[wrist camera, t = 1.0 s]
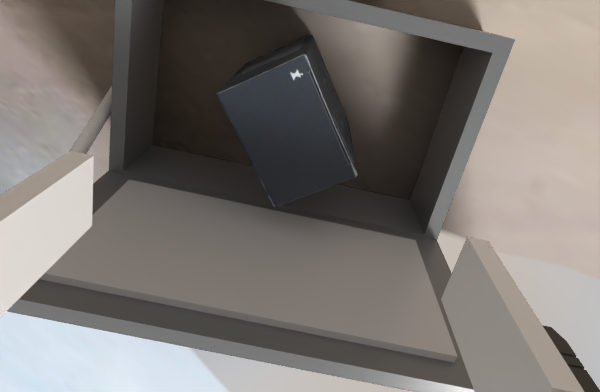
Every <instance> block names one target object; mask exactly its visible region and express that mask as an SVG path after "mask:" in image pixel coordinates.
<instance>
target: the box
mask: <svg viewBox="0 0 600 392" xmlns="http://www.w3.org/2000/svg"><path fill="white" fill-rule="evenodd" d="M217 97H218V99H219V101H220V103H221V105H222V107H223V109H224V110H225V112H226V114H227V116H228V118H229V120H230V122H231V124H232V126H233V128H234V130H235V132H236V134H237V136H238V138H239V140H240V141H241V143H242V145H243V147H244V149H245V151H246V153H247V155H248V157H249V159H250V161H251V163H252V165H253V167H254V169H255V171H256V173H257V175H258V177H259V178H260V180H261V182H262V184H263V186H264V188H265V190H266V192H267V194H268V196H269V198H270V200H271V202H272V204H273V206H274V207H277V206H280V205H283V204H285V203H288V202H291V201H294V200H296V199H299V198H302V197H304V196H307V195H310V194H312V193H315V192H318V191H320V190H323V189H326V188H328V187H331V186H333V185H336V184H339V183H342V182H345V181H348V180H350V179H354V178H356V177H357V175H358V174H357V170H356V165H355V159H354V153H353V147H352V141H351V135H350V128H349V124H348V121H347V119H346V116H345V114H344V111H343V109H342V106H341V103H340V101H339V98H338V96H337V94H336V91H335V89H334V86H333V84H332V81H331V79H330V76H329V74H328V71H327V69H326V66H325V64H324V62H323V59H322V57H321V54H320V52H319V49H318V47H317V44H316V42H315V40H314V37H313V35H309V36H306V37H304V38H302V39H300V40H298V41H295V42H293V43H291V44H289V45H286V46H284V47H282V48H280V49H278V50H276V51H273V52H271V53H269V54H267V55H264V56H262V57H260V58H258V59H255V60H253V61H251V62H248V63H246V64H245V65H244V66H243V67H242V68H241V69H240V70H239V71H238V72H237V73H236V74H235V75H234V76H233V77H232V78H231V79H230V80H229V81H228V82H227V83H226V84H225V85H224V87H222V88H221V89H220V91H219V92H217Z"/></svg>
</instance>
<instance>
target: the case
mask: <svg viewBox="0 0 600 392" xmlns="http://www.w3.org/2000/svg"><path fill="white" fill-rule="evenodd" d="M266 1H270V2H274V3H279V4H283V5H287V6H292V7H296V8H300V9H305V10H309V11H313V12H318V13H322V14H326V15H331V16H335V17H339V18H344V19H348V20H352V21H357V22H361V23H365V24H370V25H374V26H378V27H383V28H387V29H391V30H396V31H400V32H404V33H409V34H413V35H417V36H422V37H426V38H430V39H435V40H439V41H443V42H448V43H452V44H456V45H461V46H464V47H463V50H462V53H461V55H460V58H459V61H458V64H457V67H456V70H455V73H454V76H453V78H452V81H451V84H450V87H449V90H448V93H447V96H446V99H445V102H444V104H443V107H442V110H441V113H440V116H439V119H438V122H437V125H436V127H435V130H434V133H433V136H432V139H431V142H430V145H429V148H428V150H427V153H426V156H425V159H424V162H423V165H422V168H421V171H420V173H419V176H418V179H417V182H416V185H415V188H414V191H413V194H412V197H411V199H410V200H407V199H402V198H398V197H393V196H388V195H384V194H379V193H375V192H370V191H365V190H361V189H356V188H351V187H347V186H342V185H337V184H336V185H333V186H331V187H328V188H326V189H323V190H320V191H318V192H315V193H312V194H310V195H307V196H304V197H302V198H299V199H296V200H294V201H291V202H288V203H285V204H283V205H280V206H277V207H274V206H273V204H272V202H271V200H270V198H269V196H268V194H267V192H266V190H265V188H264V186H263V184H262V182H261V180H260V178H259V177H258V175H257V173H256V171H255V169H254V167H253V166H249V165H244V164H240V163H235V162H231V161H226V160H221V159H217V158H212V157H207V156H203V155H198V154H193V153H189V152H184V151H179V150H175V149H170V148H166V147H161V146H156V145H152V143H153V130H154V118H155V105H156V92H157V79H158V66H159V54H160V41H161V28H162V15H163V3H164V0H115V21H114V48H113V75H112V86H111V87H110V89H109V90H108V92H107V94H106V95H105V97H104V98H103V100H102V101H101V103H100V104H99V106H98V108H97V109H96V111H95V112H94V114H93V115H92V117H91V118H90V120H89V121H88V123H87V125H86V126H85V128H84V129H83V131H82V132H81V134H80V135H79V137H78V139H77V140H76V142H75V143H74V145H73V146H72V148H71V149H70V151H74V152H79V153H83V154H86V153H87V152H88V150H89V148H90V147H91V145H92V143H93V142H94V140H95V138H96V137H97V135H98V134H99V132H100V130H101V129H102V127H103V125H104V124H105V122H106V120H107V119H108V117H109V116H110V114H111V129H110V156H109V171H108V172H107V173H106V174H104V175H103V176H102V177H101V178H100V179H98V180H97V181H96V182H95V183H94V184H93V209H92V226H91V227H90V228H89V229H88V230H87V231H86V232H85V233H84V234H83V235H82V236H81V237H80V238H79V239H78V240H77V241H76V242H75V243H74V244H73V245H72V246H71V247H70V248H69V249H68V250H67V251H66V252H65V253H64V254H63V255H62V256H61V257H60V258H59V259H58V260H57V261H56V262H55V263H54V264H53V265H52V266H51V267H50V268H49V269H48V270H47V271H46V272H45V273H44V274H43V275H42V276H41V277H40V278H39V279H38V280H37V281H36V282H35V283H34V284H33V285H32V286H31V287H30V288H29V289H28V290H27V291H26V292H25V293H24V294H23V295H22V296H21V297H20V298H19V299H18V300H17V301H16V302H15V303H14V304H13V305H12V306H11V307H10V308H9V309H8V310H7V311H8V312H13V313H18V314H23V315H28V316H33V317H38V318H43V319H48V320H53V321H58V322H64V323H69V324H74V325H79V326H84V327H89V328H94V329H99V330H104V331H109V332H114V333H119V334H124V335H129V336H134V337H140V338H145V339H150V340H155V341H160V342H165V343H170V344H175V345H180V346H185V347H190V348H195V349H200V350H205V351H210V352H216V353H221V354H226V355H231V356H236V357H241V358H246V359H252V360H256V361H261V362H266V363H271V364H277V365H281V366H287V367H291V368H297V369H302V370H307V371H312V372H317V373H322V374H327V375H332V376H337V377H342V378H347V379H352V380H357V381H362V382H368V383H372V384H378V385H383V386H388V387H393V388H398V389H403V390H408V391H413V392H474V389H473V386H472V383H471V381H470V378H469V375H468V372H467V370H466V367H465V364H464V361H463V359H462V356H461V353H460V350H459V348H458V345H457V342H456V339H455V337H454V334H453V331H452V328H451V325H450V323H449V320H448V317H447V314H446V312H445V309H444V306H443V303H442V301H441V298H442V296H443V293H444V291H445V289H446V286H447V284H448V281H449V279H450V277H451V271H450V269H449V267H448V265H447V262H446V260H445V258H444V256H443V254H442V251H441V249H440V247H439V244H438V242H437V238H438V235H439V233H440V230H441V228H442V225H443V223H444V220H445V218H446V215H447V212H448V210H449V207H450V205H451V202H452V200H453V197H454V194H455V192H456V189H457V187H458V184H459V182H460V179H461V177H462V174H463V171H464V169H465V166H466V164H467V161H468V159H469V156H470V154H471V151H472V148H473V146H474V143H475V141H476V138H477V136H478V133H479V130H480V128H481V125H482V123H483V120H484V118H485V115H486V113H487V110H488V107H489V105H490V102H491V100H492V97H493V95H494V92H495V89H496V87H497V84H498V82H499V79H500V77H501V74H502V72H503V69H504V66H505V64H506V61H507V59H508V56H509V54H510V51H511V49H512V46H513V43H514V41H515V40H514V39H511V38H507V37H503V36H499V35H496V34H492V33H488V32H484V31H480V30H476V29H472V28H467V27H463V26H459V25H455V24H450V23H446V22H442V21H437V20H433V19H429V18H424V17H420V16H416V15H412V14H407V13H403V12H399V11H394V10H390V9H386V8H381V7H377V6H373V5H369V4H364V3H360V2H356V1H351V0H266ZM70 151H69V152H70Z"/></svg>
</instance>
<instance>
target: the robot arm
mask: <svg viewBox="0 0 600 392" xmlns="http://www.w3.org/2000/svg"><path fill="white" fill-rule="evenodd" d="M93 162H94V156H93V155H88V154H83V153H79V152H74V151H70V152H68V153H67V154H65V155H64V156H62V157H61V158H59V159H57V160H56V161H54V162H53V163H51V164H49V165H48V166H46V167H45V168H43V169H41V170H40V171H38V172H37V173H35V174H33V175H32V176H30V177H29V178H27V179H25V180H24V181H22V182H21V183H19V184H17V185H16V186H14V187H13V188H11V189H9V190H8V191H6V192H5V193H3V194H1V195H0V317H1V316H2V315H3V314H4V313H5V312H6V311H7V310H8V309H9V308H10V307H11V306H12V305H13V304H14V303H15V302H16V301H17V300H18V299H19V298H20V297H21V296H22V295H23V294H24V293H25V292H26V291H27V290H28V289H29V288H30V287H31V286H32V285H33V284H34V283H35V282H36V281H37V280H38V279H39V278H40V277H41V276H42V275H43V274H44V273H45V272H46V271H47V270H48V269H49V268H50V267H51V266H52V265H53V264H54V263H55V262H56V261H57V260H58V259H59V258H60V257H61V256H62V255H63V254H64V253H65V252H66V251H67V250H68V249H69V248H70V247H71V246H72V245H73V244H74V243H75V242H76V241H77V240H78V239H79V238H80V237H81V236H82V235H83V234H84V233H85V232H86V231H87V230H88V229H89V228H90V227H91V226H92V209H93ZM441 301H442V303H443V306H444V309H445V312H446V314H447V317H448V320H449V323H450V325H451V328H452V331H453V334H454V337H455V339H456V342H457V345H458V348H459V350H460V353H461V356H462V359H463V361H464V364H465V367H466V370H467V372H468V375H469V378H470V381H471V383H472V386H473V389H474V392H600V390H599V389H598V387H597V386H596V384H595V383H594V381H593V380H592V378H591V377H590V375H589V374H588V372H587V371H586V370H584V367H583V365H582V363H581V362H580V361H579V359H578V358H576V355H575V353H574V352H573V350H572V349H571V347H570V346H569V344H568V343H567V341H566V340H564V339H563V338H562V337H561V336H560V335H559V334H558V333H557V332H556V331H555V330H554V329H552V328H551V327H547V326H542V324H541V323H540V321H539V319H538V318H537V316H536V315H535V314H534V312H533V310H532V308H531V307H530V305H529V304H528V302H527V301H526V299H525V298H524V296H523V294H522V293H521V291H520V290H519V288H518V287H517V285H516V283H515V282H514V280H513V279H512V277H511V276H510V274H509V272H508V271H507V269H506V268H505V266H504V265H503V263H502V262H501V260H500V258H499V257H498V255H497V254H496V252H495V250H494V249H493V247H492V246H491V244H490V243H489V241H486V240H481V239H476V238H472V237H467V239H466V241H465V244H464V246H463V248H462V251H461V253H460V255H459V258H458V260H457V263H456V265H455V267H454V270H453V272H452V274H451V277H450V279H449V281H448V284H447V286H446V289H445V291H444V293H443V296H442V298H441Z"/></svg>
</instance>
